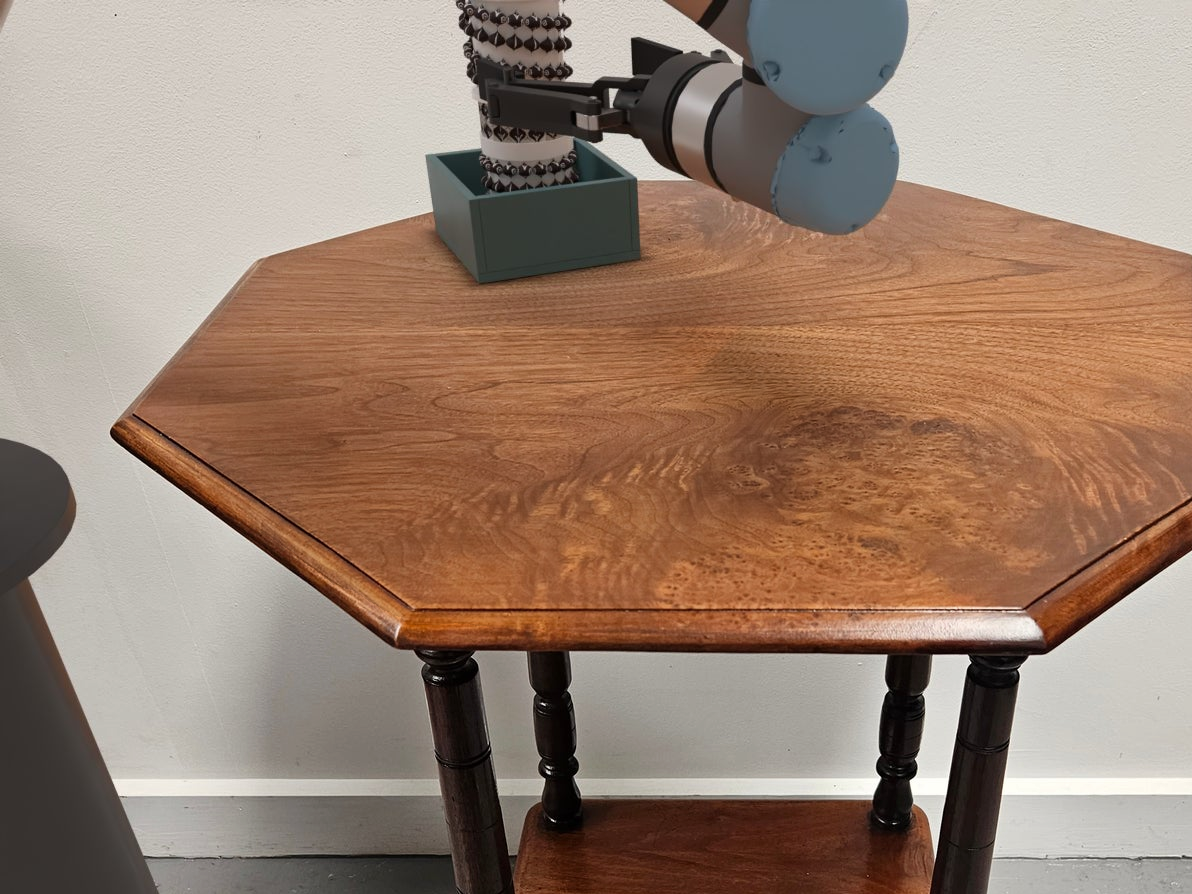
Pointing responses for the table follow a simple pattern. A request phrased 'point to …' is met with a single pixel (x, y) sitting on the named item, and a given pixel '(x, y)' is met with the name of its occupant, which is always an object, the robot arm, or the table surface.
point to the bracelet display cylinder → (534, 47)
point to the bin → (535, 217)
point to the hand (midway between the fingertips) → (560, 66)
